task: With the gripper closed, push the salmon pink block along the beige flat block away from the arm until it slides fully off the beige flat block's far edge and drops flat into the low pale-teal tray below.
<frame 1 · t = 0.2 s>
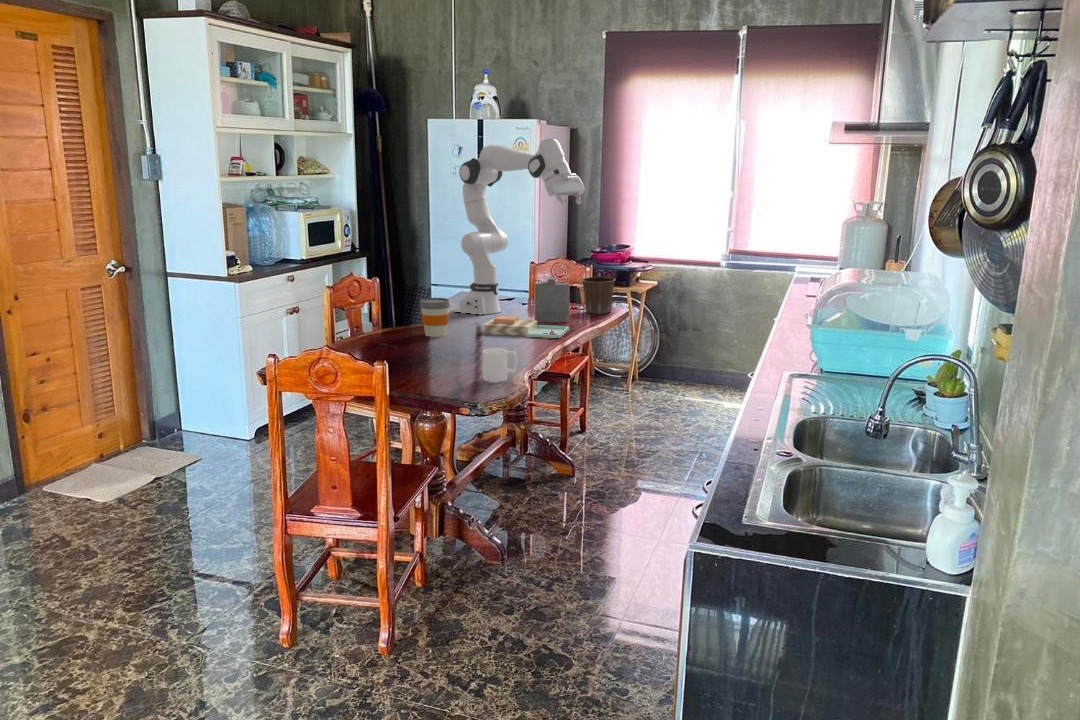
hand: (571, 203, 347), 54 cm above the table, tool tilted 30°, fingers open, 8 cm apart
plant pot: (598, 312, 396), on the table
cup: (500, 379, 281), on the table
hip flask: (552, 322, 374), on the table
beige flat block: (510, 331, 354), on the table
reusable coffee cup: (436, 335, 349), on the table
salmon pink block: (506, 322, 354), point 4 cm above the table, touching beige flat block
tray: (548, 333, 350), on the table
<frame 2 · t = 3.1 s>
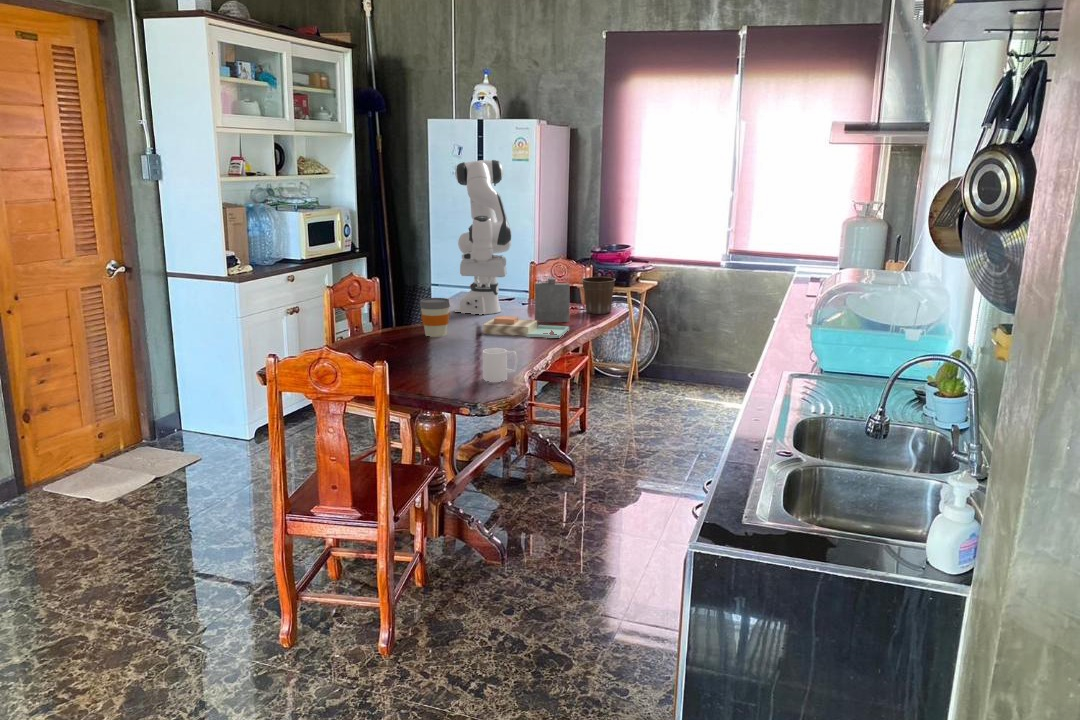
hand: (483, 286, 353), 19 cm above the table, tool pointing down, fingers closed
nothing on the table moved.
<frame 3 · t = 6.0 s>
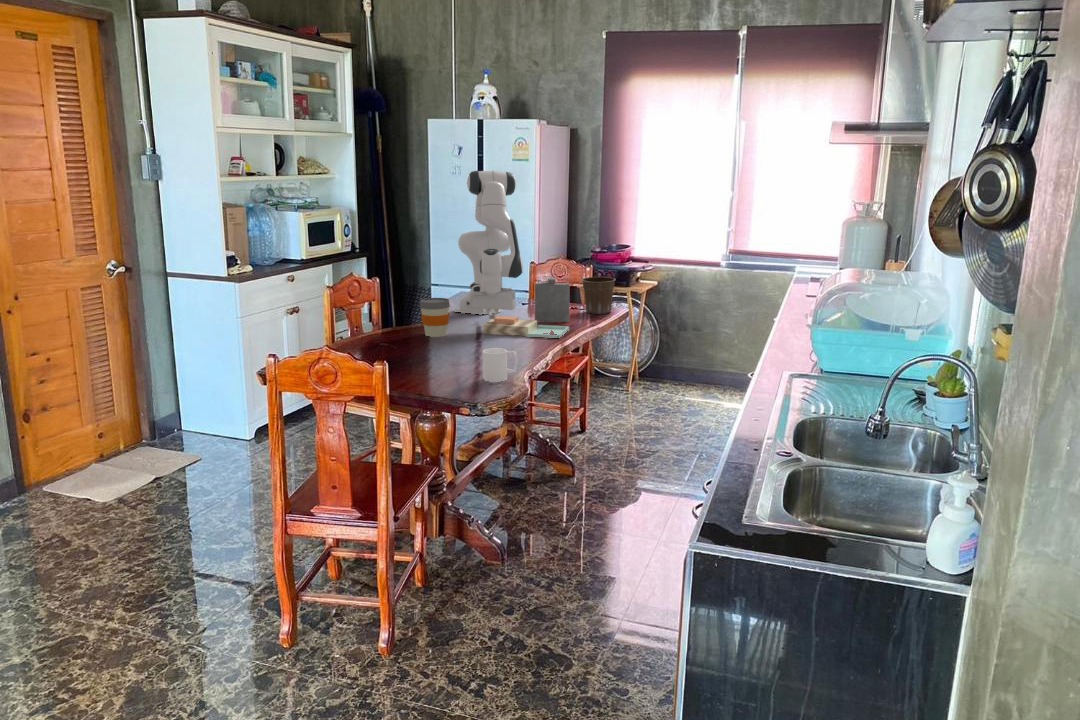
hand: (492, 318, 355), 5 cm above the table, tool pointing down, fingers closed
salmon pink block: (506, 322, 354), point 4 cm above the table, touching beige flat block, gripper
everything else where it was.
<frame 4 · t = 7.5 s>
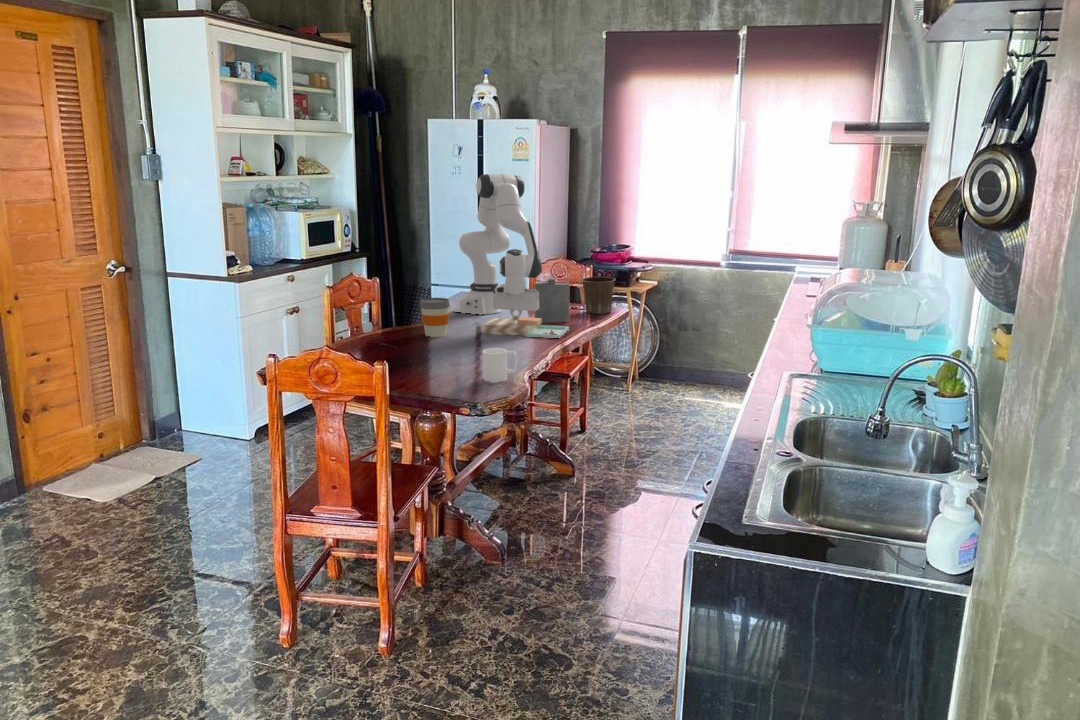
hand: (516, 320, 352), 5 cm above the table, tool pointing down, fingers closed
salmon pink block: (529, 323, 351), point 4 cm above the table
everything else where it was.
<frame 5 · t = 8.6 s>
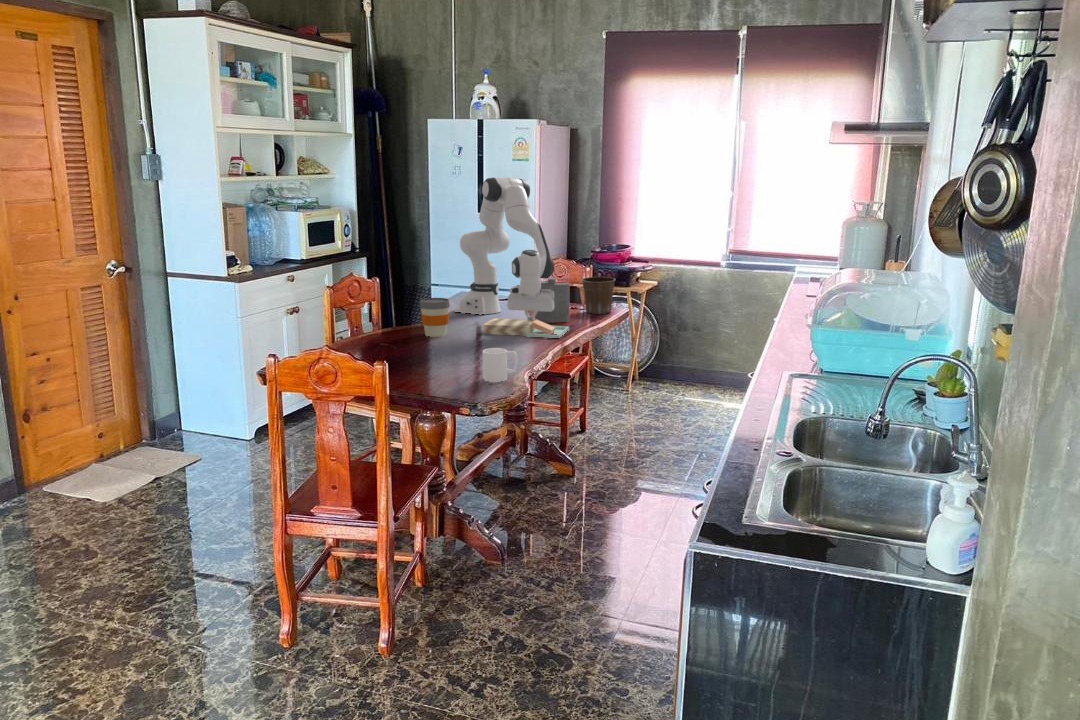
hand: (531, 320, 350), 5 cm above the table, tool pointing down, fingers closed
salmon pink block: (542, 329, 350), point 2 cm above the table, tilted 20°, touching gripper
everything else where it was.
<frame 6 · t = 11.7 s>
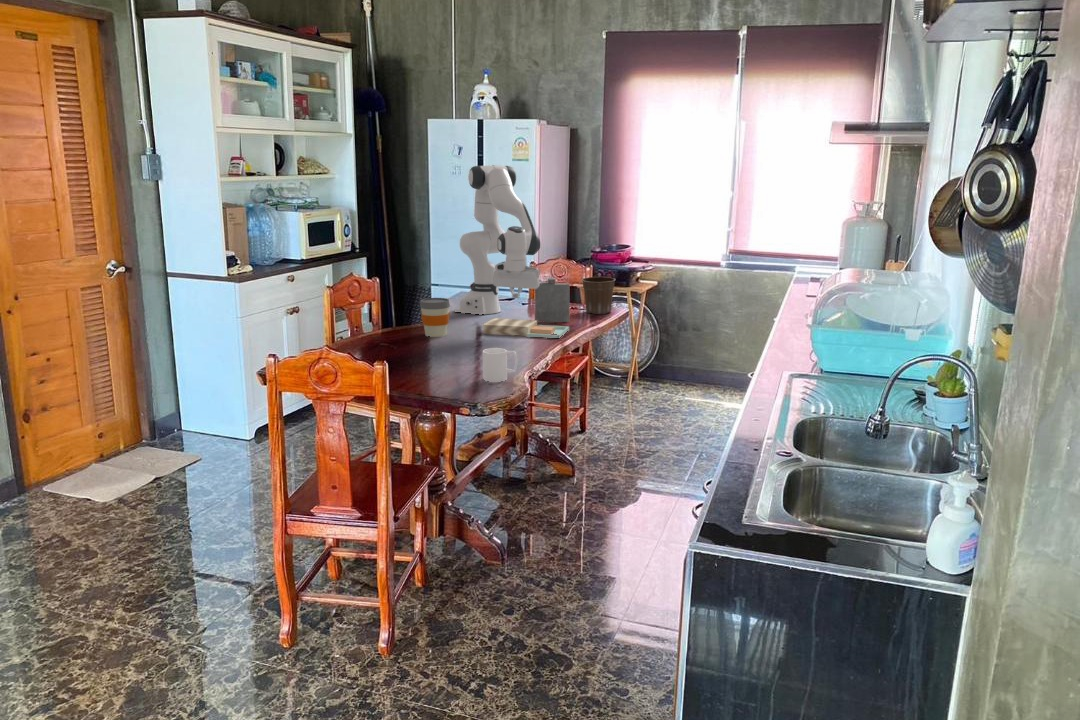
hand: (515, 297, 350), 15 cm above the table, tool pointing down, fingers closed
salmon pink block: (542, 332, 350), resting on tray
everything else where it was.
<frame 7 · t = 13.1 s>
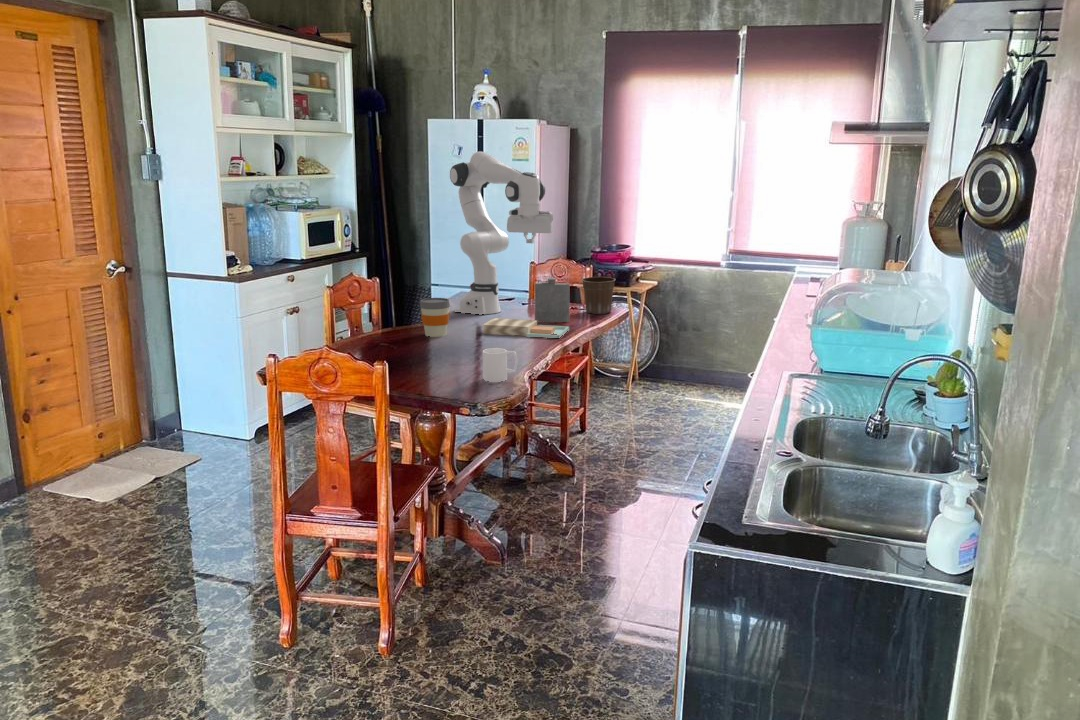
hand: (529, 243, 357), 37 cm above the table, tool pointing down, fingers closed
nothing on the table moved.
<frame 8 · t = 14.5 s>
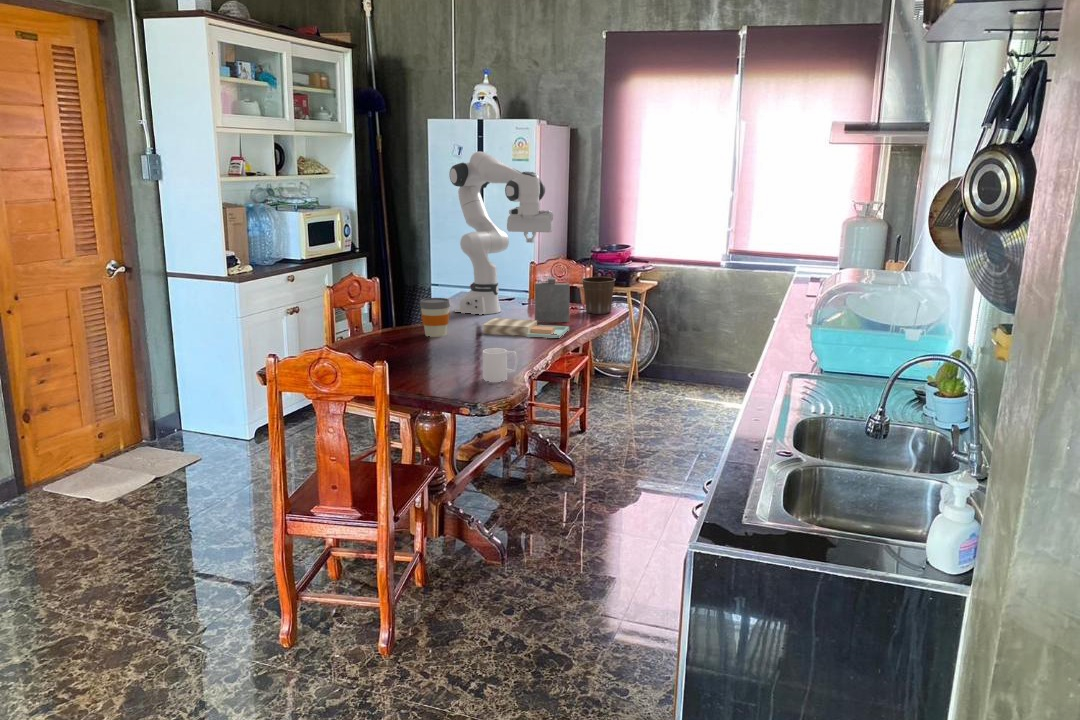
hand: (530, 242, 357), 37 cm above the table, tool pointing down, fingers closed
nothing on the table moved.
at the end: salmon pink block inside the target area on the tray (2.4 cm from its centre), point 0.4 cm above the tray's base; salmon pink block tilted 0° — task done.
